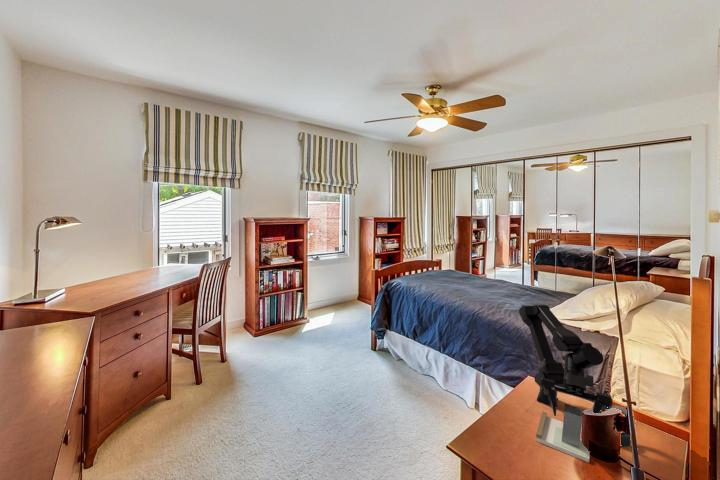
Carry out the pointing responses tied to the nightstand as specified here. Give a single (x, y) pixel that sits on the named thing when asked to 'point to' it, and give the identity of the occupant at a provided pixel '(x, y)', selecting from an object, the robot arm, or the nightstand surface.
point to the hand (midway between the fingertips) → (572, 421)
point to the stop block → (572, 425)
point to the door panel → (558, 438)
